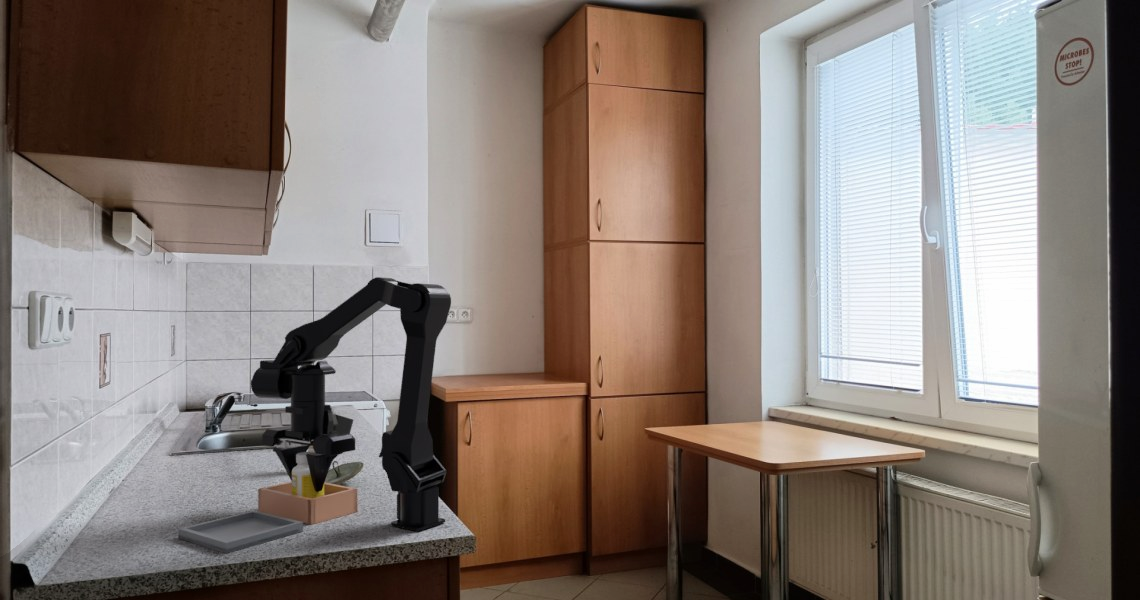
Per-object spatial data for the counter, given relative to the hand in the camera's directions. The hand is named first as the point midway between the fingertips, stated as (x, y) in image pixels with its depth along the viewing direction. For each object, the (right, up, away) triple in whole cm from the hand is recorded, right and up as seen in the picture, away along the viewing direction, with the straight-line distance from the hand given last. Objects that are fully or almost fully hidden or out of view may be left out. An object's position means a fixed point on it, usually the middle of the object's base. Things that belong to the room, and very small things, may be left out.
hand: (308, 489), depth 132 cm
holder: (0, -4, 0) cm, 4 cm away
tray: (-6, -4, -14) cm, 15 cm away
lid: (-1, -5, +21) cm, 21 cm away
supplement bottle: (0, -4, 0) cm, 4 cm away
